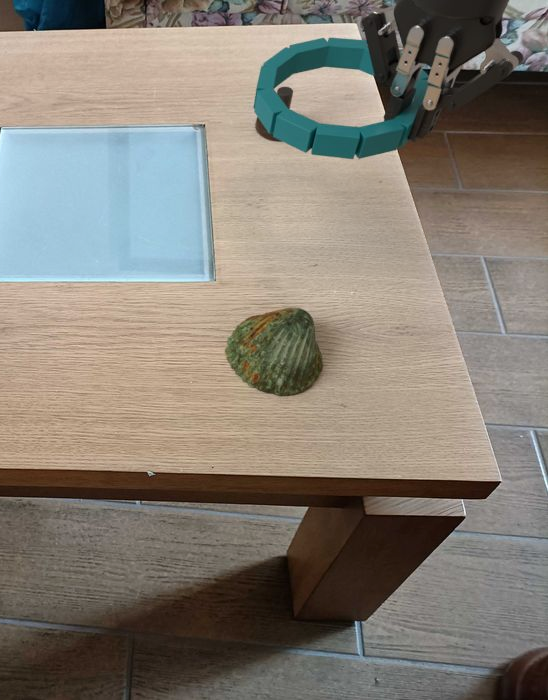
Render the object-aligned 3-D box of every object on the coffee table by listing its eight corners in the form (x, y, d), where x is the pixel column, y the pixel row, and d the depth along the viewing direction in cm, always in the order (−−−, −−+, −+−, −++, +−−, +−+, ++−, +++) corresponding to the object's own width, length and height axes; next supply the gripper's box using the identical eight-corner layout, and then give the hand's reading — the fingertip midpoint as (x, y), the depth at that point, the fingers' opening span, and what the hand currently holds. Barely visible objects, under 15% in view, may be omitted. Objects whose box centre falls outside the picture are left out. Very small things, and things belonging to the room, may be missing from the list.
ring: (372, 46, 72) (378, 25, 70) (457, 135, 63) (467, 113, 61) (231, 78, 71) (233, 57, 69) (296, 174, 61) (301, 152, 59)
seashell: (212, 329, 67) (278, 276, 70) (206, 351, 70) (269, 299, 74) (291, 395, 63) (357, 336, 66) (281, 415, 66) (344, 357, 70)
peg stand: (296, 112, 92) (304, 75, 88) (304, 140, 89) (313, 103, 84) (252, 114, 92) (258, 78, 88) (258, 142, 89) (265, 106, 84)
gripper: (600, -61, 47) (495, 142, 61) (419, -108, 54) (362, 86, 68) (550, -18, 45) (453, 184, 59) (367, -73, 51) (318, 122, 65)
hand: (404, 131), depth 63 cm, fingers closed on ring, 1 cm apart
